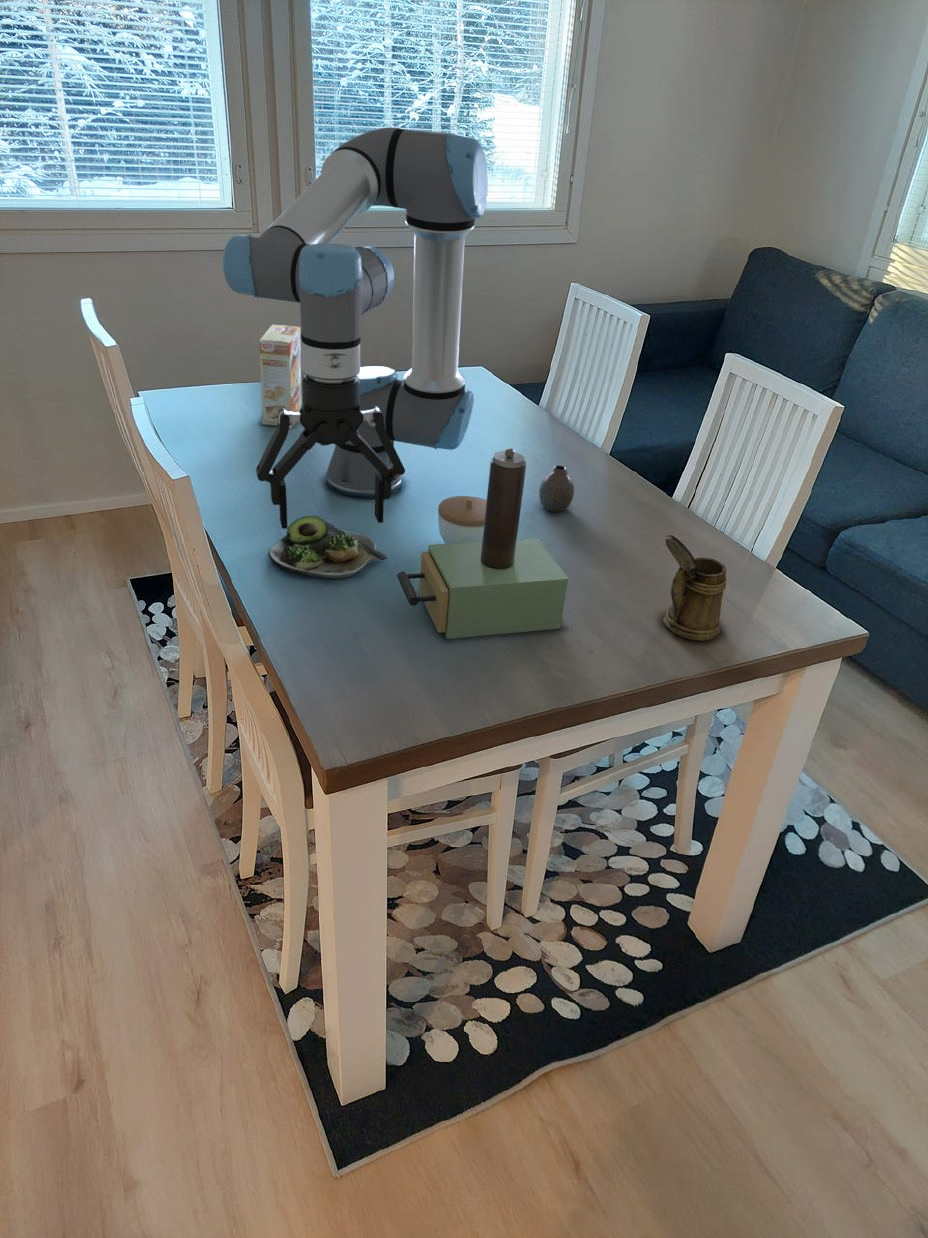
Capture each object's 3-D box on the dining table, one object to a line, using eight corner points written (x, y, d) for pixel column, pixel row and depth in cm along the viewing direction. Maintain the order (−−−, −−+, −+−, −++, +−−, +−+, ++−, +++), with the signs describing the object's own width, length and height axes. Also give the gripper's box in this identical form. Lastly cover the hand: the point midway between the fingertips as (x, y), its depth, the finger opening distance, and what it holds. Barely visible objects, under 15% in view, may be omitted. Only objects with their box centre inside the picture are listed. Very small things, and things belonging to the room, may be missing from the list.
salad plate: (403, 547, 155) (404, 524, 153) (364, 593, 141) (364, 568, 138) (305, 525, 159) (304, 502, 157) (257, 568, 145) (255, 543, 142)
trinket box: (501, 541, 161) (506, 494, 156) (483, 566, 152) (489, 517, 147) (447, 528, 163) (451, 482, 158) (427, 552, 154) (430, 504, 149)
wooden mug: (630, 622, 140) (652, 522, 130) (694, 607, 146) (719, 510, 136) (665, 652, 133) (690, 548, 124) (730, 634, 139) (760, 535, 130)
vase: (569, 517, 172) (576, 476, 167) (535, 512, 173) (540, 471, 168) (572, 503, 178) (579, 463, 173) (539, 498, 178) (545, 458, 174)
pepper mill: (476, 554, 136) (487, 442, 126) (507, 552, 137) (521, 441, 127) (486, 570, 132) (498, 455, 122) (518, 568, 133) (533, 454, 123)
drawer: (410, 635, 130) (413, 593, 126) (393, 593, 140) (394, 553, 136) (545, 623, 136) (551, 583, 132) (519, 583, 146) (524, 545, 142)
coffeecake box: (291, 427, 201) (289, 342, 191) (261, 425, 201) (257, 339, 191) (302, 406, 214) (301, 326, 203) (274, 404, 214) (271, 323, 203)
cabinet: (447, 639, 131) (451, 587, 127) (425, 593, 142) (428, 544, 137) (560, 628, 137) (568, 578, 132) (530, 585, 147) (537, 538, 143)
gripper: (233, 385, 106) (244, 539, 117) (431, 382, 112) (422, 528, 124) (230, 366, 112) (240, 514, 123) (417, 364, 118) (410, 505, 130)
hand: (331, 521), depth 124 cm, fingers open, 13 cm apart
